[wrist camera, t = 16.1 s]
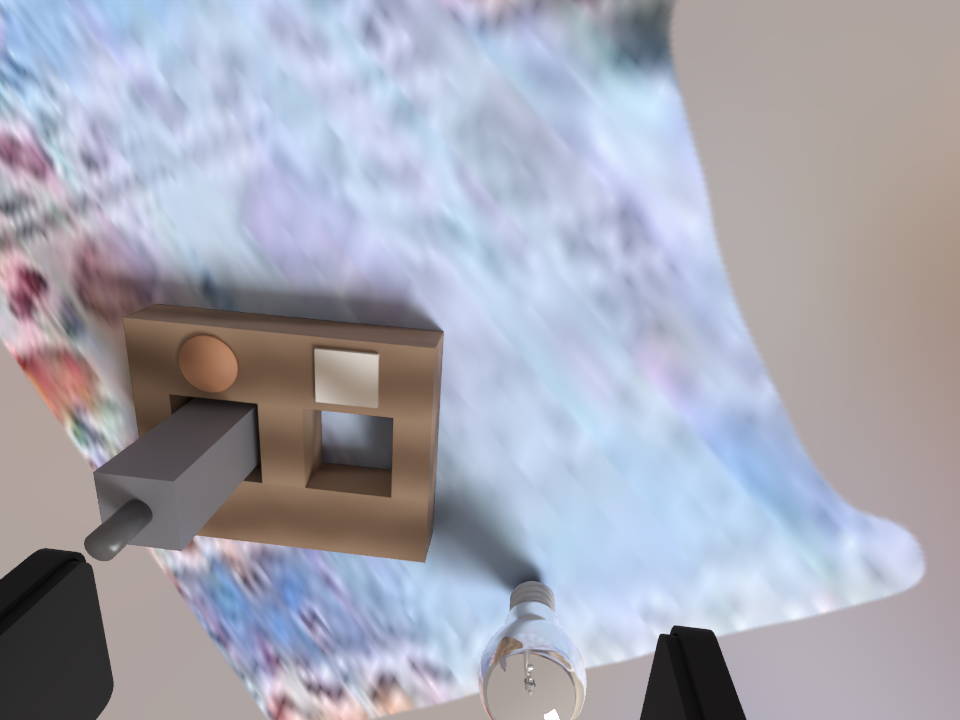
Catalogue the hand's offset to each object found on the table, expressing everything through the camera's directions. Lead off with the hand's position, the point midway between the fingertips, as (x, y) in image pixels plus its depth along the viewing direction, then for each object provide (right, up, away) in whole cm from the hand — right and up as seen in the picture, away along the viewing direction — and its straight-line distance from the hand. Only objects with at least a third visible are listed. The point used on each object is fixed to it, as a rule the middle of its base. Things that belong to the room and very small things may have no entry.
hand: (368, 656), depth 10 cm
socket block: (-11, 0, +33) cm, 35 cm away
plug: (-16, +1, +34) cm, 37 cm away
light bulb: (+6, -13, +37) cm, 39 cm away
